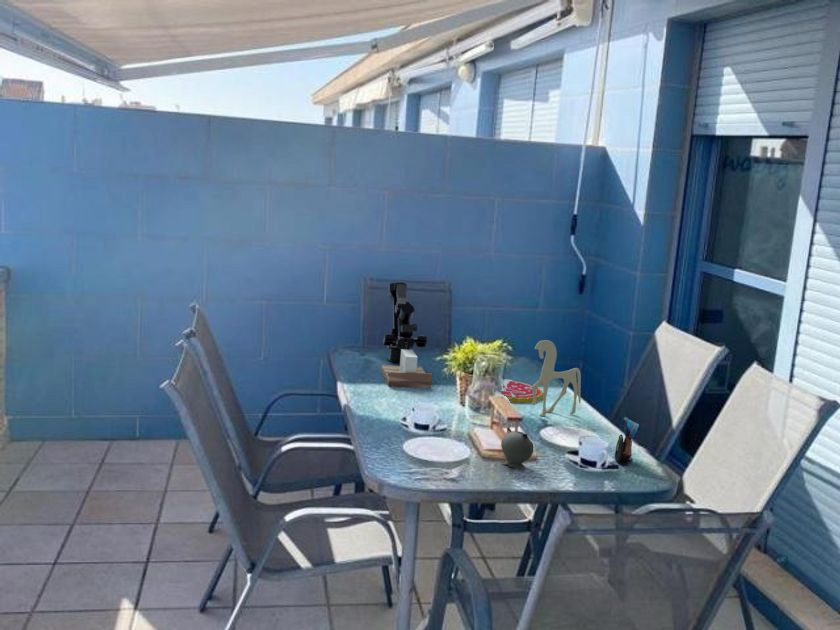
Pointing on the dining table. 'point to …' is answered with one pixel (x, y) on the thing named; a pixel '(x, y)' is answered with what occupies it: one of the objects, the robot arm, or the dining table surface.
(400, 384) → the trap deck
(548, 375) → the sculpture
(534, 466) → the dining table surface
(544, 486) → the dining table surface
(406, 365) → the light gray block
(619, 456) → the figurine
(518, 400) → the decorative sign
